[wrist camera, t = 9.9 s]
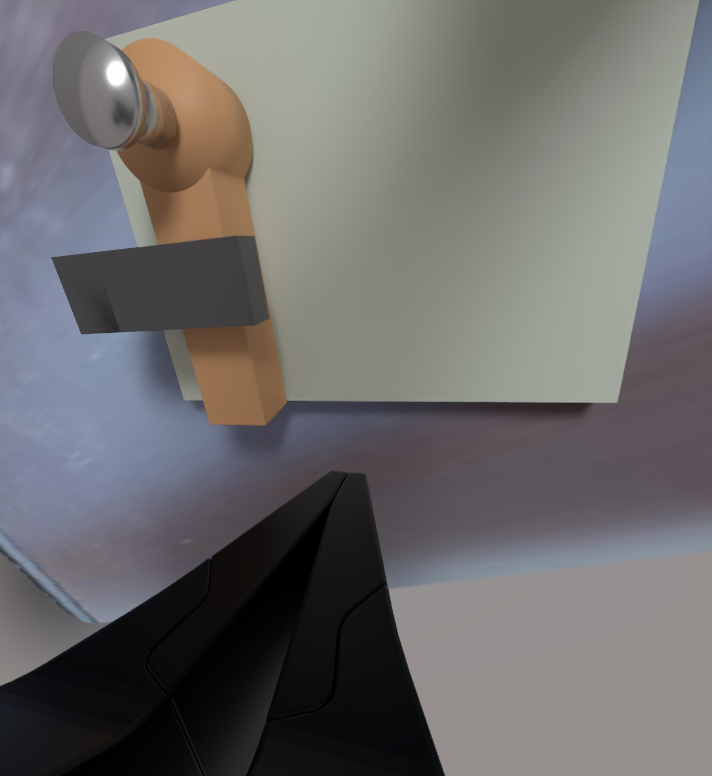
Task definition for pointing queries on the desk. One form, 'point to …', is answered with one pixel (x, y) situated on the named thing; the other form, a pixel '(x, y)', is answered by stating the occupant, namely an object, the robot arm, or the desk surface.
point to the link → (207, 221)
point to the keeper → (149, 263)
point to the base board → (444, 187)
